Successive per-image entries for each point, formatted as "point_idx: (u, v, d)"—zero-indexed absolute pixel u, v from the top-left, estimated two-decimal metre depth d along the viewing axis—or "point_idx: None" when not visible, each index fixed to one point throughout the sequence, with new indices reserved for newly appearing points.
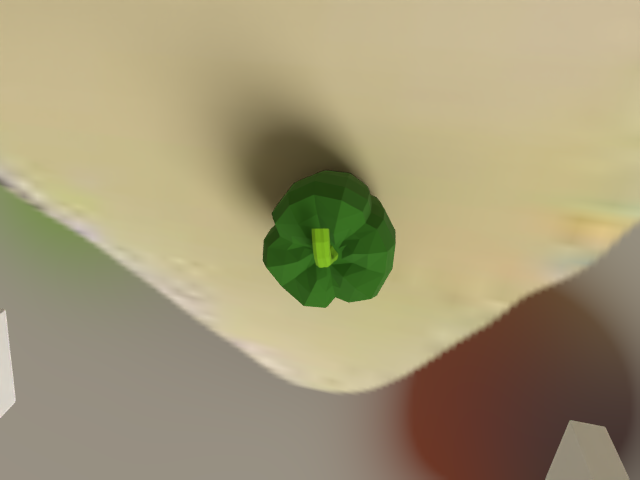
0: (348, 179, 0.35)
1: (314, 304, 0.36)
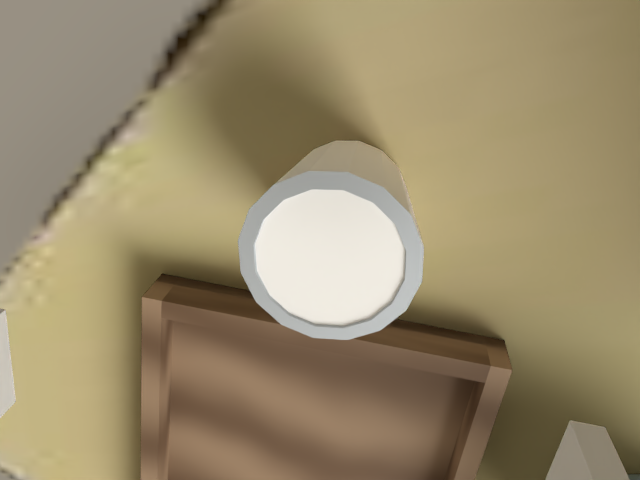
0: None
1: None
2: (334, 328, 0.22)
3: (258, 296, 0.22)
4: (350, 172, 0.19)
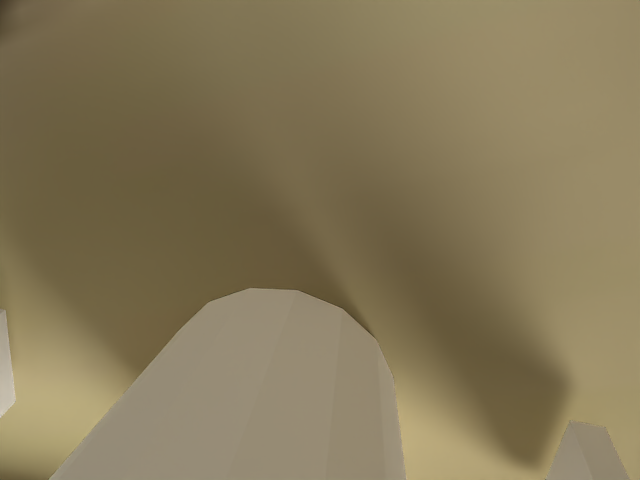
0: None
1: None
2: None
3: None
4: None
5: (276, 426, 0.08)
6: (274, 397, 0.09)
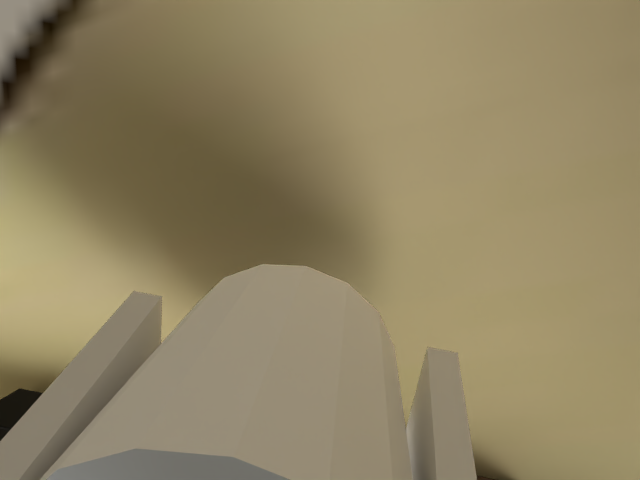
0: None
1: None
2: None
3: None
4: (243, 453, 0.08)
5: (291, 375, 0.10)
6: (288, 352, 0.10)
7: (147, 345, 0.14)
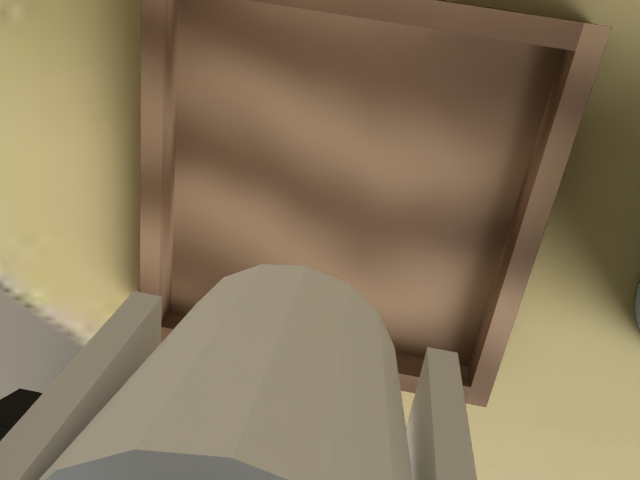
0: None
1: None
2: None
3: None
4: (242, 454, 0.07)
5: (291, 376, 0.09)
6: (288, 353, 0.10)
7: (147, 345, 0.14)
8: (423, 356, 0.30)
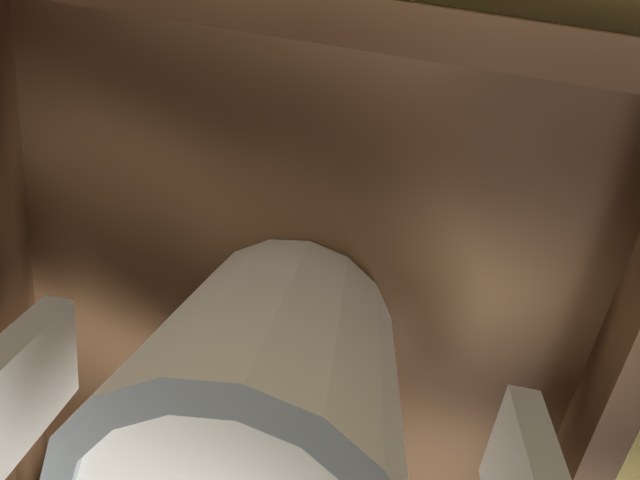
0: None
1: None
2: None
3: None
4: (251, 382, 0.09)
5: (294, 327, 0.11)
6: (292, 309, 0.11)
7: (56, 352, 0.13)
8: None
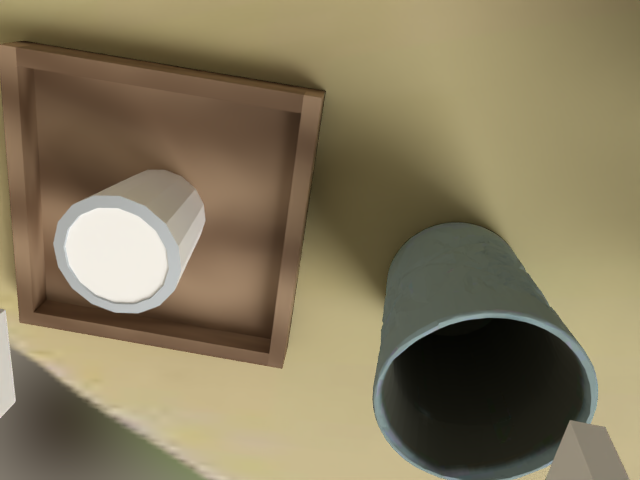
0: None
1: None
2: (128, 305, 0.31)
3: (73, 283, 0.31)
4: (122, 196, 0.29)
5: (144, 189, 0.31)
6: (145, 185, 0.31)
7: None
8: (240, 332, 0.39)
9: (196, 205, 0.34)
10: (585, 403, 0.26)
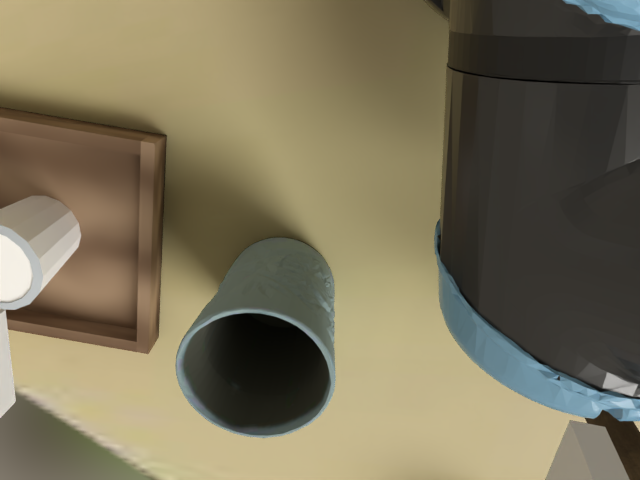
0: None
1: None
2: (6, 303, 0.40)
3: None
4: None
5: (16, 214, 0.40)
6: (19, 211, 0.40)
7: None
8: (117, 324, 0.48)
9: (68, 224, 0.43)
10: (329, 376, 0.36)
